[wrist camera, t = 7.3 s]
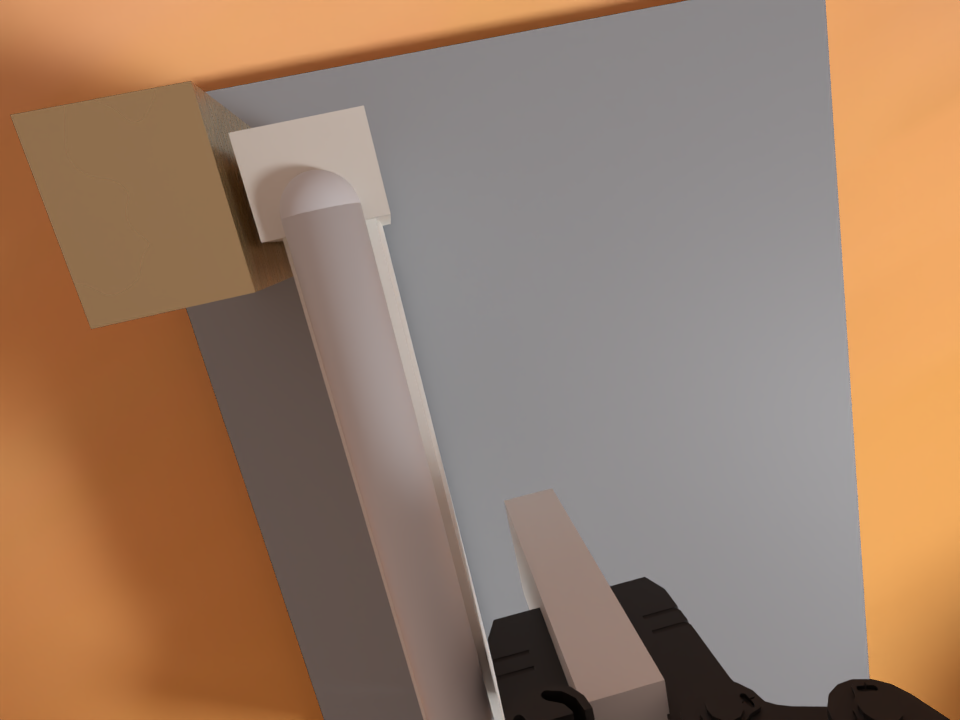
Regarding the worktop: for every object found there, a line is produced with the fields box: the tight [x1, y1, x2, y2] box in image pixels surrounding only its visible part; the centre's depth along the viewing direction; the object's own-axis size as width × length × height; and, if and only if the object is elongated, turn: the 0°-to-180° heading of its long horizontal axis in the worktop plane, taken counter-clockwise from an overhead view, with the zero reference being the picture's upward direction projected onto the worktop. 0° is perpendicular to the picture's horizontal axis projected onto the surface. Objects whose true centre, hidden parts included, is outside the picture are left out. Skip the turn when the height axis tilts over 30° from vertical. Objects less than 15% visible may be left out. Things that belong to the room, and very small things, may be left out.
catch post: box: [10, 81, 293, 329], centre depth 13 cm, size 3×2×10 cm
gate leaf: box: [228, 105, 505, 720], centre depth 14 cm, size 18×2×9 cm, turn 13°
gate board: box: [186, 0, 869, 720], centre depth 21 cm, size 27×21×1 cm
